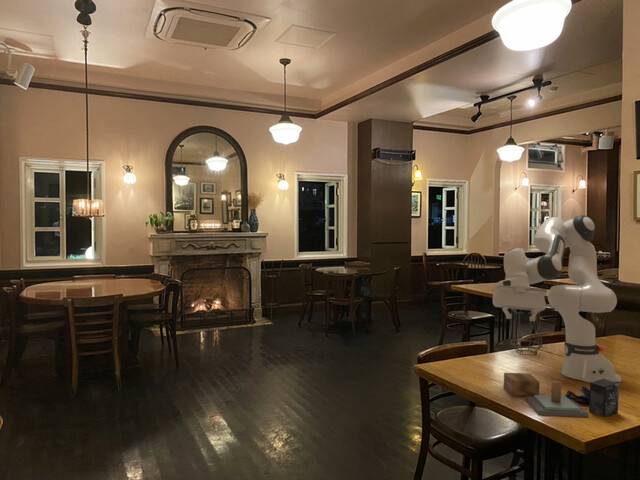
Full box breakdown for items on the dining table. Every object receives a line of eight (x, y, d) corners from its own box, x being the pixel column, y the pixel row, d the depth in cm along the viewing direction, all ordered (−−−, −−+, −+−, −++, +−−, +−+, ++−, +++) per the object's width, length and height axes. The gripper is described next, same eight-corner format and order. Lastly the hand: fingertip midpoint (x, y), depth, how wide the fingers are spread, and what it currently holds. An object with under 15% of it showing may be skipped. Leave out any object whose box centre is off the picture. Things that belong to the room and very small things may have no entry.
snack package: (574, 394, 177) (559, 399, 171) (578, 378, 176) (562, 383, 170) (607, 409, 168) (592, 416, 161) (611, 393, 167) (596, 399, 160)
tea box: (530, 388, 182) (530, 373, 182) (539, 397, 172) (539, 382, 172) (503, 387, 183) (503, 372, 183) (511, 396, 173) (511, 381, 173)
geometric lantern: (547, 358, 225) (547, 287, 224) (513, 357, 227) (513, 287, 226) (536, 349, 241) (535, 282, 239) (504, 348, 243) (504, 282, 241)
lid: (565, 398, 167) (565, 377, 167) (579, 411, 156) (579, 387, 156) (533, 397, 168) (534, 376, 168) (545, 409, 157) (545, 386, 157)
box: (604, 417, 155) (605, 386, 155) (588, 411, 160) (589, 381, 160) (618, 413, 158) (619, 383, 158) (602, 407, 163) (602, 378, 163)
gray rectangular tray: (571, 402, 168) (571, 398, 168) (588, 417, 155) (588, 412, 155) (525, 400, 170) (525, 396, 170) (538, 415, 157) (538, 410, 157)
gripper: (538, 291, 188) (542, 324, 182) (489, 286, 187) (492, 319, 182) (546, 286, 182) (551, 320, 177) (496, 281, 182) (499, 315, 176)
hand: (520, 319), depth 179 cm, fingers open, 8 cm apart
